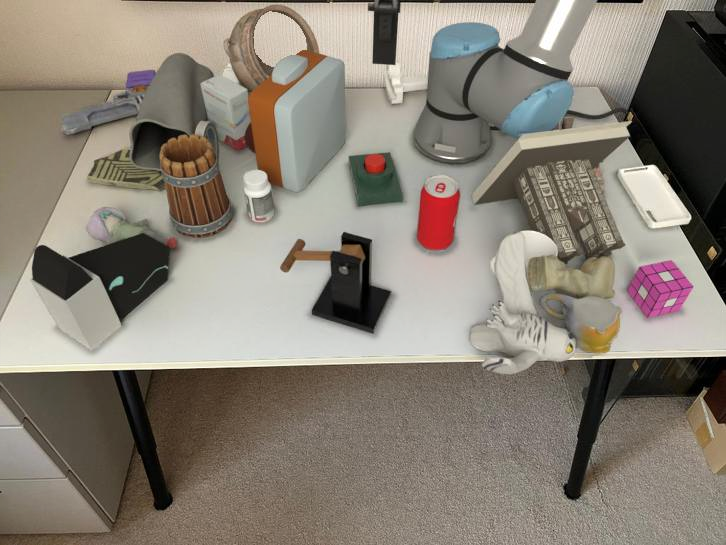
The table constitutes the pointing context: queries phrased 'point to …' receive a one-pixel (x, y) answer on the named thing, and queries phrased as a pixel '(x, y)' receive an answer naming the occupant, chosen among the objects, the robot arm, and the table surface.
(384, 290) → the bracket
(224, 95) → the ink box
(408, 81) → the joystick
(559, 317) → the mug
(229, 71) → the toy car
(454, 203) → the beverage can
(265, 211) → the pill bottle
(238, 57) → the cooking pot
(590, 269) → the sculpture
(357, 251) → the lever
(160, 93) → the vase
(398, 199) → the button box
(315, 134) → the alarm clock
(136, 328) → the table surface
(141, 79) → the handgun
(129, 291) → the decorative object
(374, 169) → the button
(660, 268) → the puzzle toy
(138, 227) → the toy
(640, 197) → the phone case
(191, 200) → the mug
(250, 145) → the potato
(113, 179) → the pottery shard
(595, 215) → the building model
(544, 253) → the cup
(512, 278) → the toy
